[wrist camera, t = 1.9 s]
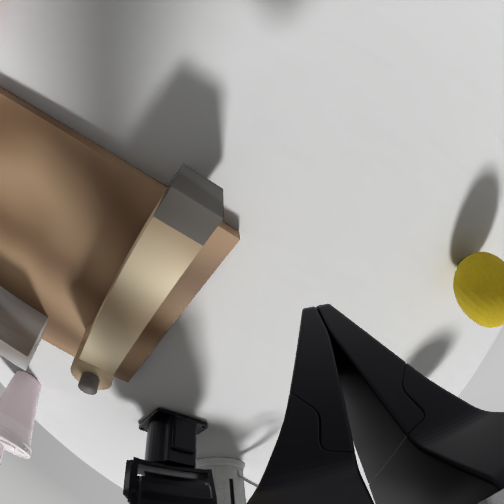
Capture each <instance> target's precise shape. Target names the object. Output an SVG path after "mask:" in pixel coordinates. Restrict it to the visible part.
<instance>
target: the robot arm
mask: <svg viewBox="0 0 504 504" xmlns="http://www.w3.org/2000/svg"><path fill="white" fill-rule="evenodd" d="M405 364H406V363H405V361H403V360H402V359H401V358H399V357H398V356H397V355H395V354H394V353H393V352H392V351H390V350H389V349H388V348H386V347H385V346H384V345H382V344H381V343H380V342H379V341H377V340H376V339H375V338H373V337H372V336H371V335H369V334H368V333H367V332H365V331H364V330H363V329H362V328H360V327H359V326H358V325H356V324H355V323H354V322H352V321H351V320H350V319H348V318H347V317H346V316H345V315H343V314H342V313H341V312H339V311H338V310H337V309H335V308H334V307H333V306H331V305H330V304H324V305H319V306H317V307H309V308H304V309H303V310H302V317H301V324H300V331H299V338H298V345H297V351H296V358H295V364H294V370H293V376H292V382H291V388H290V395H289V399H288V405H287V409H286V414H285V418H284V422H283V425H282V428H281V431H280V434H279V437H278V440H277V442H276V445H275V447H274V450H273V452H272V455H271V457H270V460H269V462H268V465H267V467H266V470H265V472H264V474H263V477H262V479H261V481H260V483H259V485H258V487H257V489H256V490H255V492H254V494H253V495H252V496H251V498H250V499H249V501H248V502H247V503H246V504H374V502H373V500H372V498H371V496H370V494H369V491H368V489H367V487H366V485H365V483H364V481H363V479H362V476H361V474H360V471H359V468H358V465H357V460H356V456H355V450H354V445H355V448H356V450H357V453H358V456H359V458H360V461H361V464H362V467H363V469H364V472H365V475H366V478H367V480H368V483H369V486H370V489H371V492H372V495H373V498H374V500H375V503H376V504H504V412H489V411H484V410H481V409H478V408H475V407H474V406H472V405H470V404H468V403H467V402H465V401H463V400H462V399H460V398H458V397H457V396H455V395H453V394H452V393H450V392H448V391H446V390H445V389H443V388H441V387H440V386H438V385H437V384H435V383H434V382H432V381H430V380H429V379H427V378H426V377H425V376H423V375H422V374H421V373H419V372H418V371H416V370H415V369H414V368H412V367H411V366H410V365H409V364H406V365H405ZM206 428H208V424H207V423H205V422H202V421H198V420H195V419H192V418H188V417H185V416H182V415H179V414H176V413H173V412H170V411H167V410H164V409H161V408H157V409H156V410H155V411H154V412H153V413H152V414H150V415H149V416H148V417H147V418H146V419H145V420H144V421H143V422H142V423H141V424H140V425H139V429H140V430H143V431H146V432H148V433H147V442H146V452H145V460H142V459H139V458H136V457H134V459H133V460H127V462H126V471H125V480H124V490H123V495H124V496H125V497H126V498H127V499H128V502H129V504H217V496H216V491H215V485H214V480H213V474H212V469H198V468H196V435H197V434H199V433H200V432H202V431H203V430H205V429H206ZM353 442H354V445H353ZM137 474H141V475H143V476H137Z"/></svg>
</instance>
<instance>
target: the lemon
mask: <svg viewBox="0 0 504 504" xmlns="http://www.w3.org/2000/svg"><path fill="white" fill-rule="evenodd" d="M453 288H454V293H455V297H456V300H457V302H458V304H459V306H460V307H461V309H462V310H463V311H464V312H465V314H466V315H467V316H468V317H469V318H470V319H472V320H473V321H474V322H476V323H477V324H479V325H481V326H484V327H488V328H492V327H498V326H501V325H503V324H504V261H502V260H501V259H500V258H499V257H497V256H495V255H493V254H490V253H487V252H476V253H473V254H471V255H469V256H467V257H466V258H465V259H464V260H462V261H460V263H459V266H458V268H457V270H456V272H455V276H454V284H453Z"/></svg>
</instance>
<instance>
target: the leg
mask: <svg viewBox="0 0 504 504" xmlns="http://www.w3.org/2000/svg"><path fill="white" fill-rule="evenodd" d="M223 219H224V214H223V189H222V188H221V187H219V186H218V185H216V184H214V183H213V182H211V181H210V180H208V179H207V178H205V177H204V176H202V175H200V174H199V173H197V172H196V171H194V170H193V169H191V168H190V167H188V166H186V165H185V164H183V165H182V166H181V168H180V169H179V171H178V172H177V174H176V175H175V177H174V178H173V180H172V181H171V183H170V184H169V186H168V188H167V189H166V191H165V192H164V194H163V195H162V197H161V199H160V200H159V202H158V203H157V205H156V207H155V208H154V210H153V212H152V213H151V215H150V217H149V218H148V220H147V222H146V223H145V225H144V227H143V228H142V230H141V232H140V234H139V235H138V237H137V239H136V241H135V242H134V244H133V246H132V248H131V249H130V251H129V253H128V255H127V257H126V259H125V260H124V262H123V264H122V266H121V268H120V270H119V272H118V273H117V275H116V277H115V279H114V281H113V283H112V285H111V287H110V289H109V291H108V293H107V295H106V297H105V299H104V301H103V303H102V305H101V307H100V309H99V311H98V313H97V315H96V317H95V320H94V322H93V324H91V325H89V326H88V327H87V328H86V330H85V333H84V335H83V338H82V340H81V343H80V345H79V348H78V350H77V353H76V355H75V358H74V361H73V363H72V366H71V373H72V375H73V376H74V377H75V379H77V380H78V381H80V378H81V375H82V373H83V372H90V373H92V374H94V375H96V376H97V377H98V378H99V380H100V382H99V385H98V390H105V389H108V388H110V387H111V385H112V381H113V377H114V373H115V372H116V370H117V369H118V367H119V366H120V364H121V363H122V361H123V359H124V358H125V356H126V355H127V353H128V352H129V350H130V349H131V348H132V346H133V345H134V343H135V342H136V340H137V339H138V337H139V336H140V334H141V333H142V331H143V330H144V328H145V327H146V325H147V324H148V323H149V321H150V320H151V318H152V317H153V315H154V314H155V312H156V311H157V310H158V308H159V307H160V305H161V304H162V302H163V301H164V300H165V298H166V297H167V295H168V294H169V292H170V291H171V290H172V288H173V287H174V285H175V284H176V283H177V281H178V280H179V278H180V277H181V276H182V274H183V273H184V272H185V270H186V269H187V267H188V266H189V265H190V263H191V262H192V261H193V259H194V258H195V256H196V255H197V254H198V252H199V251H200V250H201V248H202V247H203V246H204V244H205V243H206V241H207V240H208V239H209V237H210V236H211V235H212V233H213V232H214V231H215V229H216V228H217V227H218V225H219V224H220V223H221V221H222V220H223Z"/></svg>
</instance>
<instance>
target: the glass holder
mask: <svg viewBox="0 0 504 504" xmlns="http://www.w3.org/2000/svg"><path fill="white" fill-rule="evenodd" d="M244 467H245V463H244V462H243V461H241V460H238V459H233V458H225V457H209V458H202V459H198V460H196V468H198V469H212V474H213V480H214V485H215V491H216V496H217V504H246V499H245V490H244V480H245V481H246V482H248V483H250V484H252V485H254V486H256V487H258V485H257V484H256V483H254V482H252V481H250V480H248V479H246V478H245V477H243V469H244Z"/></svg>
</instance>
